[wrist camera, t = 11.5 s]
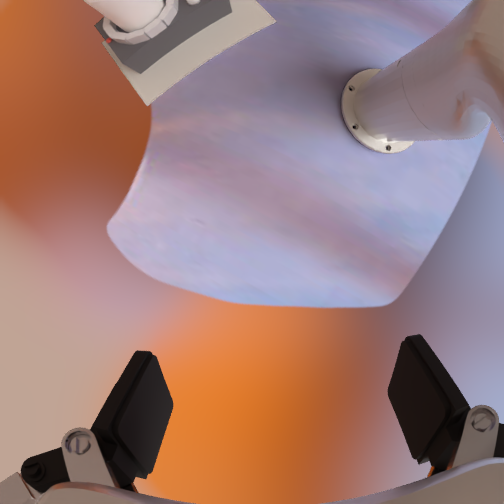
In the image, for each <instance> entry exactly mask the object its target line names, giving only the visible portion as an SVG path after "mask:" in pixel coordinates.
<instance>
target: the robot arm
mask: <svg viewBox="0 0 504 504" xmlns="http://www.w3.org/2000/svg"><path fill="white" fill-rule="evenodd" d="M349 88H350V89H351V91H350V90H349ZM341 109H342V114H343V118H344V121H345V123H346V125H347V127H348V129H349V130H350V132H351V133H352V135H353V136H354V137H355V138H356V139H357V140H358V141H359V142H360V143H361V144H362V145H364V146H366V147H367V148H369V149H371V150H373V151H376V152H380V153H387V154H391V153H398V152H401V151H404V150H406V149H407V148H409V147H410V146H411V145H412V144H413V143H414V142H415V141H431V140H464V139H470V138H473V137H475V136H477V135H478V134H480V133H481V132H482V131H483V130H484V129H485V128H486V127H487V125H488V124H489V123H490V121H491V120H492V121H493V123H494V125H495V126H496V128H497V130H498V132H499V134H500V136H501V138H502V140H503V142H504V0H472V1H471V2H470V3H469V4H468V5H467V6H466V7H465V8H464V9H463V10H462V11H461V12H460V13H459V14H458V15H457V16H456V17H455V18H454V19H453V20H452V21H451V22H450V23H449V24H448V25H447V26H445V27H444V28H443V29H442V30H441V31H440V32H438V33H437V34H436V35H434V36H433V37H431V38H430V39H428V40H427V41H426V42H424V43H423V44H421V45H419V46H418V47H416V48H415V49H413V50H412V51H411V52H409V53H407V54H406V55H404V56H403V57H401V58H400V59H398V60H397V61H395V62H394V63H392V64H390V65H389V66H387V67H386V68H385V69H383V70H382V69H367V70H364V71H361V72H359V73H357V74H356V75H354V76H353V77H352V78H351V79H350V80H349V81H348V83H347V84H346V85H345V88H344V90H343V93H342V98H341ZM353 126H355V129H353ZM386 147H387V150H386ZM388 397H389V399H390V401H391V404H392V406H393V409H394V411H395V413H396V416H397V419H398V421H399V424H400V426H401V428H402V431H403V433H404V436H405V439H406V442H407V444H408V447H409V450H410V452H411V455H412V457H413V458H414V459H417V462H418V464H422V463H425V462H427V461H430V463H431V466H432V467H431V469H430V471H429V474H428V476H427V478H425V479H422V480H419V481H416V482H413V483H410V484H407V485H403V486H400V487H397V488H394V489H390V490H387V491H383V492H379V493H375V494H371V495H367V496H362V497H358V498H353V499H348V500H342V501H336V502H329V503H323V504H504V424H501V423H499V418H498V415H497V413H496V411H495V410H494V409H492V408H491V407H489V406H486V405H478V406H475V407H474V408H472V409H471V408H470V406H469V404H468V403H467V401H466V399H465V398H464V396H463V395H462V393H461V392H460V390H459V388H458V387H457V385H456V384H455V383H454V381H453V379H452V378H451V377H450V375H449V373H448V372H447V370H446V369H445V368H444V366H443V365H442V363H441V362H440V360H439V359H438V357H437V356H436V355H435V353H434V352H433V351H432V349H431V348H430V346H429V345H428V343H427V342H426V341H425V339H424V338H423V337H422V336H421V335H420V334H418V335H413V336H408V337H406V338H405V341H402V343H401V346H400V350H399V353H398V357H397V361H396V364H395V368H394V371H393V374H392V378H391V381H390V384H389V387H388ZM172 409H173V400H172V398H171V395H170V392H169V390H168V387H167V384H166V382H165V380H164V377H163V374H162V371H161V368H160V365H159V362H158V360H157V357H156V356H155V355H153V354H152V353H151V352H150V351H136V352H135V353H134V355H133V356H132V358H131V360H130V361H129V363H128V365H127V366H126V368H125V370H124V372H123V373H122V375H121V377H120V378H119V380H118V382H117V383H116V384H115V386H114V388H113V389H112V391H111V393H110V395H109V396H108V398H107V400H106V402H105V404H104V405H103V407H102V409H101V411H100V412H99V414H98V416H97V418H96V420H95V422H94V423H93V425H92V427H91V429H90V430H88V429H86V428H75V429H72V430H70V431H69V432H67V433H66V434H65V436H64V437H63V440H62V442H61V444H62V447H60V448H57V449H54V450H51V451H48V452H45V453H42V454H39V455H36V456H33V457H30V458H28V459H27V460H26V461H24V463H23V465H22V468H21V473H20V474H19V473H18V472H16V473H14V474H13V475H12V476H10V477H8V478H7V479H5V480H4V481H2V482H1V483H0V504H194V503H187V502H181V501H174V500H169V499H164V498H158V497H153V496H148V495H144V494H140V493H138V491H137V489H136V487H135V485H134V483H133V482H134V479H135V477H139V478H143V479H146V478H147V475H148V474H150V473H151V472H152V471H153V468H154V465H155V462H156V459H157V456H158V452H159V449H160V446H161V443H162V440H163V437H164V434H165V431H166V428H167V425H168V421H169V419H170V416H171V413H172Z"/></svg>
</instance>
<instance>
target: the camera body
mask: <svg viewBox="0 0 504 504" xmlns="http://www.w3.org/2000/svg"><path fill="white" fill-rule="evenodd" d="M163 1H164V2H165V7H164V9H163V10H162V12H161V13H160V15H159V16H158V18H156V19H155V20H154V21H152V22H151V23H149V24H148V25H147V26H145V27H144V28H142V29H139V30H136V31H133V32H130V33H129V32H126V31H124V30H123V29H121V28H120V27H119V26H117V25H116V24H115V23H113V22H112V21H111V20H109V19H108V18H107V17H105V16H104V18H102V19H101V20H100V21H99V22H98V23H97V24H96V25H95V27H96V28H97V30H98V31H99V32H100V34H101V35H102V36H103V38H104V39H105V41H106V43H108V45H109V46H110V47H111V49H112V50H113V52H114V53H115V54H116V56H117V57H118V58H119V60H120V61H121V62H122V64H124V65H126V66H127V67H129V68H131V69H133V70H134V71H136V72H138V73H139V74H142V73H143V72H144V71H145V70H147V69H148V68H149V67H150V66H152V65H153V64H154V63H155V62H157V61H158V60H159V59H161V58H162V57H163V56H165V55H166V54H167V53H169V52H170V51H171V50H173V49H174V48H176V47H177V46H178V45H180V44H181V43H183V42H184V41H186V40H187V39H189V38H190V37H192V36H193V35H195V34H196V33H198V32H199V31H201V30H203V29H204V28H206V27H208V26H209V25H211V24H213V23H214V22H216V21H218V20H219V19H221V18H223V17H225V16H227V15H228V14H230V13H232V9H231V4H230V1H229V0H163Z"/></svg>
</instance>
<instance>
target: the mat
mask: <svg viewBox="0 0 504 504" xmlns="http://www.w3.org/2000/svg"><path fill="white" fill-rule="evenodd" d="M229 1H230V4H231V9H232V13H230V14H228V15H227V16H225V17H223V18H221V19H219V20H218V21H216V22H214V23H213V24H211V25H209V26H208V27H206V28H204V29H203V30H201V31H199V32H198V33H196V34H195V35H193V36H192V37H190V38H189V39H187V40H186V41H184V42H183V43H181V44H180V45H178V46H177V47H176V48H174V49H173V50H171V51H170V52H169V53H167V54H166V55H165V56H163V57H162V58H161V59H159V60H158V61H157V62H155V63H154V64H153V65H152V66H150V67H149V68H148V69H147V70H145V71H144V72H143V73H142V74H139V73H138V72H136V71H134V70H133V69H131V68H129V67H127V66H126V65H124V64H122V62H121V61H120V60H119V58H118V57H117V56H116V54H115V53H114V52H113V50H112V49H111V47H110V46H109V45H108V43H106V41H105V40H104V41H103V42H102V44H103V46H104V47H105V48H106V50H107V51H108V53H109V54H110V55H111V57H112V58H113V59H114V61H115V62H116V64H117V65H118V67H119V68H120V69H121V71H122V72H123V73H124V75H125V76H126V78H127V79H128V80H129V82H130V83H131V85H132V86H133V87H134V89H135V90H136V92H137V93H138V94H139V96H140V97H141V99H142V100H143V101H144V103H145V104H146V105H147V106H148V105H150V104H151V103H152V102H153V101H154V100H156V99H157V98H158V97H159V96H161V95H162V94H163V93H164V92H166V91H167V90H168V89H169V88H171V87H172V86H173V85H175V84H176V83H177V82H179V81H180V80H181V79H183V78H184V77H186V76H187V75H188V74H190V73H191V72H193V71H194V70H195V69H197V68H198V67H200V66H201V65H203V64H204V63H206V62H207V61H209V60H210V59H212V58H213V57H215V56H216V55H218V54H220V53H221V52H223V51H225V50H226V49H228V48H229V47H231V46H233V45H235V44H236V43H238V42H240V41H241V40H243V39H245V38H247V37H249V36H250V35H252V34H254V33H256V32H258V31H260V30H262V29H264V28H266V27H268V26H270V25H272V24H274V23H276V20H275V19H274V18H273V17H272V16H271V15H270V14H269V13H268V12H267V11H266V10H265V9H264V8H263V7H262V6H261V5H260V4H259V3H258V2H257V1H256V0H229Z"/></svg>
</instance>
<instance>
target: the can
mask: <svg viewBox="0 0 504 504" xmlns="http://www.w3.org/2000/svg"><path fill="white" fill-rule="evenodd" d="M84 1H85V2H86V3H87V4H88V5H90V6H91V7H93V8H94V9H96V10H97V11H98V12H100V13H101V14H102V15H104V16H105V17H107V18H108V19H109V20H111V21H112V22H113V23H115V24H116V25H117V26H119V27H120V28H121V29H123V30H124V31H126V32H129V33H130V32H133V31H136V30H139V29H142V28H144V27H145V26H147V25H148V24H149V23H151V22H152V21H154V20H155V19H156V18H158V16H159V15H160V13H161V12H162V10H163V9H164V7H165V2H164V1H163V0H84Z"/></svg>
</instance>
